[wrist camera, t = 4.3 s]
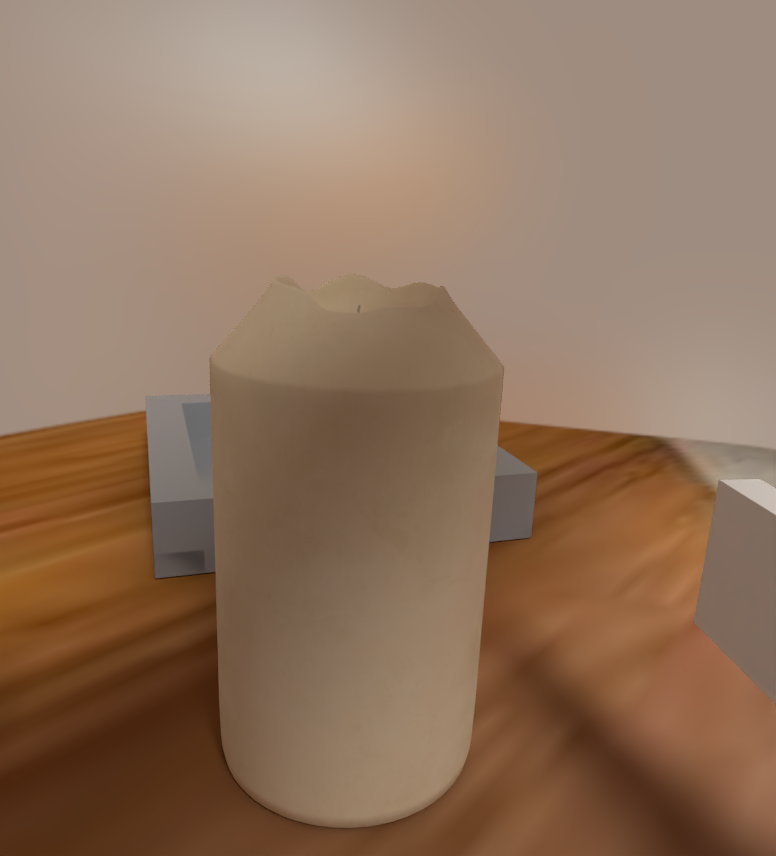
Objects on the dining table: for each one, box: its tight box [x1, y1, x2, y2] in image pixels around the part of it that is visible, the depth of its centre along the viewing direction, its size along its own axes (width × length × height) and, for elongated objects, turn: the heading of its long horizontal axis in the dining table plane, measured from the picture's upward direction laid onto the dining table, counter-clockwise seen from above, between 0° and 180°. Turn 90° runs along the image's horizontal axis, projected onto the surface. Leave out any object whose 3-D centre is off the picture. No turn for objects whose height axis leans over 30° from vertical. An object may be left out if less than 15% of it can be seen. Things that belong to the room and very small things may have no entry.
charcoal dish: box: [146, 394, 538, 578], centre depth 30 cm, size 13×13×2 cm
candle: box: [210, 274, 504, 828], centre depth 15 cm, size 6×6×10 cm
